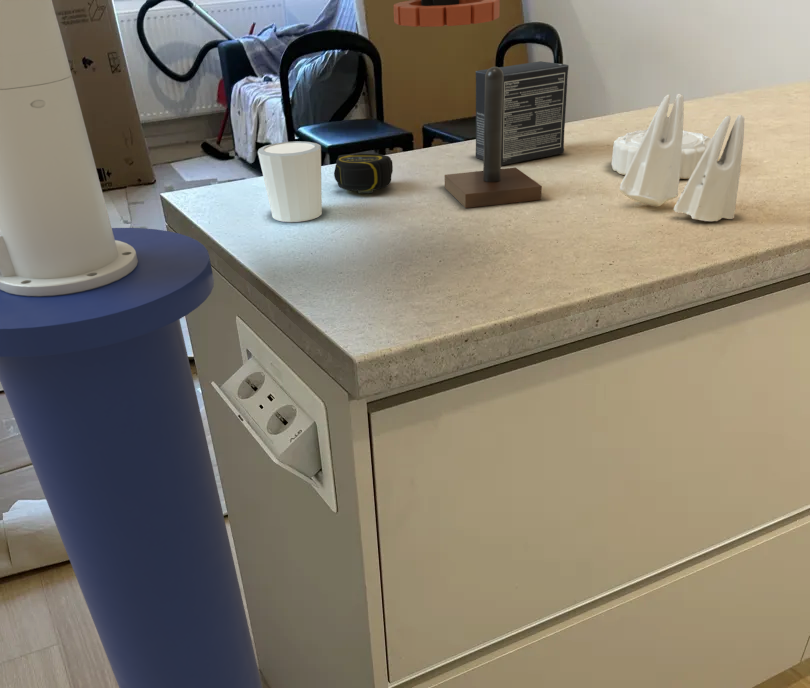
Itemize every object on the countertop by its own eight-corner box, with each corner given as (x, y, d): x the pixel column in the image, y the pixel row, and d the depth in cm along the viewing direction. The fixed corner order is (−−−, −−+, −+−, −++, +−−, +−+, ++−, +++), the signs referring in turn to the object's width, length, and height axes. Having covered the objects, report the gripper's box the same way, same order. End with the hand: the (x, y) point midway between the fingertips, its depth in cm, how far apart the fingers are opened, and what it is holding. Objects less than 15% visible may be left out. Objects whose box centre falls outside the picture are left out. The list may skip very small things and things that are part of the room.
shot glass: (307, 202, 95) (300, 137, 90) (339, 214, 90) (333, 146, 86) (256, 214, 91) (246, 147, 87) (285, 227, 87) (276, 158, 83)
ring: (406, 29, 63) (405, 10, 62) (387, 19, 70) (386, 1, 69) (511, 21, 64) (511, 1, 63) (482, 11, 71) (482, -6, 70)
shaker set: (614, 207, 88) (627, 93, 81) (634, 198, 90) (648, 87, 84) (718, 227, 81) (741, 105, 75) (736, 217, 84) (761, 97, 77)
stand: (465, 208, 90) (466, 76, 82) (444, 187, 97) (443, 64, 89) (541, 199, 91) (549, 69, 83) (515, 180, 98) (520, 58, 90)
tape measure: (394, 181, 100) (392, 149, 98) (389, 197, 95) (387, 163, 92) (340, 183, 101) (337, 150, 98) (332, 198, 95) (329, 164, 93)
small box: (536, 145, 112) (541, 59, 106) (565, 154, 108) (572, 64, 101) (472, 157, 108) (473, 68, 102) (499, 166, 104) (502, 74, 97)
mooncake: (632, 152, 107) (636, 123, 104) (723, 162, 101) (729, 130, 99) (595, 174, 99) (598, 142, 97) (691, 185, 93) (697, 152, 91)
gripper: (363, -263, 64) (378, 11, 75) (402, -307, 52) (414, 29, 63) (454, -266, 65) (456, 5, 76) (513, -310, 53) (505, 21, 64)
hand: (437, 14), depth 70 cm, fingers closed on ring
